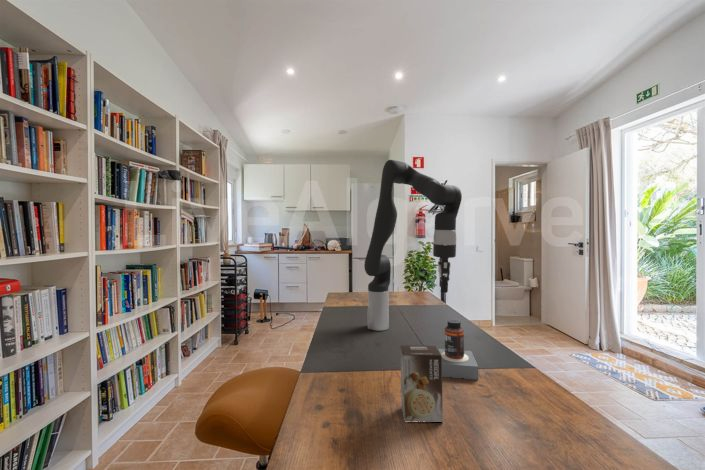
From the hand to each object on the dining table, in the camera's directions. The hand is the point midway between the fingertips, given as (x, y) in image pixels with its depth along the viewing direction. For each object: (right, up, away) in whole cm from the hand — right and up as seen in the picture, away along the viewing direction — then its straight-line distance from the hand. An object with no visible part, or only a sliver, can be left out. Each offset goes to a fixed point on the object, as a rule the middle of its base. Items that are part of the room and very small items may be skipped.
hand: (443, 289), depth 107 cm
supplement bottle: (+1, -20, -8) cm, 22 cm away
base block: (+1, -24, -8) cm, 26 cm away
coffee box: (-15, -25, -33) cm, 44 cm away
